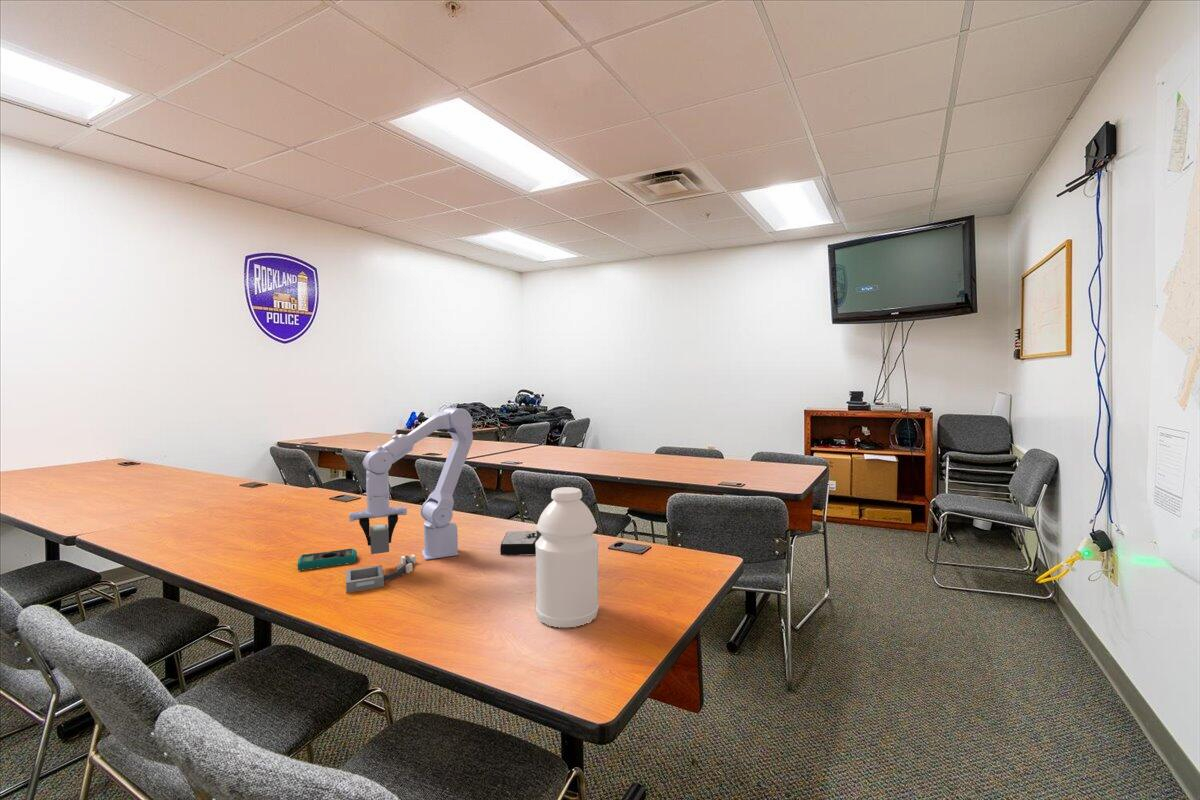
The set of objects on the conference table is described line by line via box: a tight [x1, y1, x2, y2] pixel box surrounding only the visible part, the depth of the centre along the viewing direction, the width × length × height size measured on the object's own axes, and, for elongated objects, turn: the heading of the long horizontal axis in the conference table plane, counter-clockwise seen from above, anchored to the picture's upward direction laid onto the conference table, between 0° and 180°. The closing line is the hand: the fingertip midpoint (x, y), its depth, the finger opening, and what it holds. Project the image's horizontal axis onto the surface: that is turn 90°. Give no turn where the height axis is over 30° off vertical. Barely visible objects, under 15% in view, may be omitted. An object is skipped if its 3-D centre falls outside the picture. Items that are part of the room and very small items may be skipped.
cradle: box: [345, 564, 385, 594], centre depth 132 cm, size 8×9×2 cm
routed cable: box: [383, 553, 417, 582], centre depth 141 cm, size 5×16×2 cm, turn 179°
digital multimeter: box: [297, 548, 358, 571], centre depth 147 cm, size 7×15×3 cm, turn 116°
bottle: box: [535, 486, 600, 629], centre depth 114 cm, size 14×14×28 cm
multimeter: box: [499, 530, 541, 556], centre depth 160 cm, size 13×19×5 cm
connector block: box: [369, 523, 390, 555], centre depth 143 cm, size 4×6×6 cm
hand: (379, 543), depth 143 cm, fingers closed on connector block, 4 cm apart
